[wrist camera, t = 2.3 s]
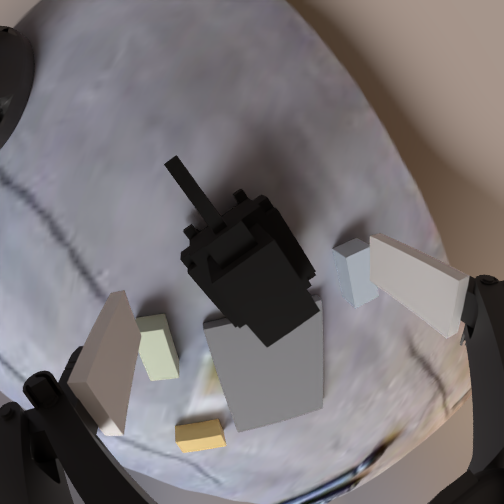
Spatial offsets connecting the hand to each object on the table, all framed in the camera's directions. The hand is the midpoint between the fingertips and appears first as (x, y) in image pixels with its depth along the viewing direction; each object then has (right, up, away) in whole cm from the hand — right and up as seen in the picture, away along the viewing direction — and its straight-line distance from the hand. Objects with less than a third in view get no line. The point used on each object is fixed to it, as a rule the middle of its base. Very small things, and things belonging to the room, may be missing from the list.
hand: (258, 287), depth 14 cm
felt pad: (+2, -12, +17) cm, 21 cm away
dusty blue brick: (+10, 0, +15) cm, 18 cm away
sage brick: (-10, -7, +13) cm, 18 cm away
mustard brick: (-7, -22, +19) cm, 30 cm away
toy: (-3, +4, +11) cm, 12 cm away
